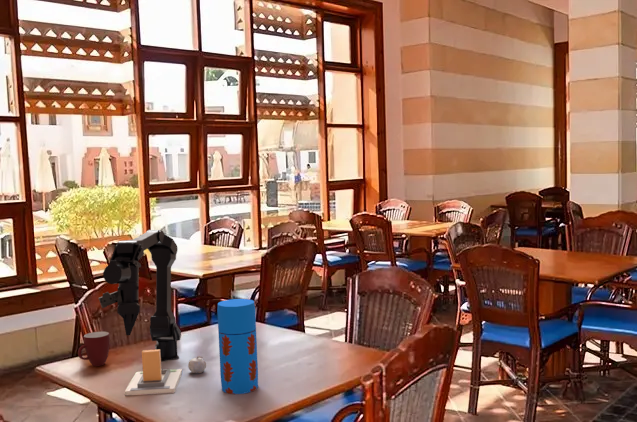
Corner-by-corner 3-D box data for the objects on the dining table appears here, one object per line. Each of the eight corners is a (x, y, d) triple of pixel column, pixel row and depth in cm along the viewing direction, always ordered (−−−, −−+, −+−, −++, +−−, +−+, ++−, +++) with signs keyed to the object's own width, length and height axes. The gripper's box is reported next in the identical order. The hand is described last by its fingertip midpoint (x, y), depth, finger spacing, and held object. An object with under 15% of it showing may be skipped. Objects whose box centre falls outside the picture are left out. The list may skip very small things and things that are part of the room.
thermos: (242, 396, 192) (238, 308, 190) (213, 390, 198) (209, 305, 196) (265, 384, 201) (262, 300, 199) (237, 379, 207) (233, 297, 205)
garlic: (210, 370, 217) (209, 354, 217) (200, 375, 212) (199, 359, 212) (194, 368, 219) (193, 352, 219) (184, 374, 215) (183, 357, 214)
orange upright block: (145, 381, 204) (143, 349, 203) (162, 380, 204) (160, 348, 204) (143, 385, 201) (141, 352, 200) (160, 384, 201) (158, 351, 200)
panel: (136, 375, 214) (136, 368, 214) (182, 372, 215) (181, 365, 215) (124, 395, 196) (124, 387, 196) (174, 392, 198) (174, 384, 197)
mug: (87, 371, 220) (85, 340, 220) (73, 367, 226) (71, 337, 225) (116, 363, 228) (114, 333, 228) (102, 359, 234) (100, 330, 233)
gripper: (101, 281, 213) (100, 332, 212) (99, 284, 195) (98, 340, 194) (138, 281, 216) (138, 331, 215) (140, 283, 198) (139, 338, 197)
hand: (128, 335), depth 205 cm, fingers closed
